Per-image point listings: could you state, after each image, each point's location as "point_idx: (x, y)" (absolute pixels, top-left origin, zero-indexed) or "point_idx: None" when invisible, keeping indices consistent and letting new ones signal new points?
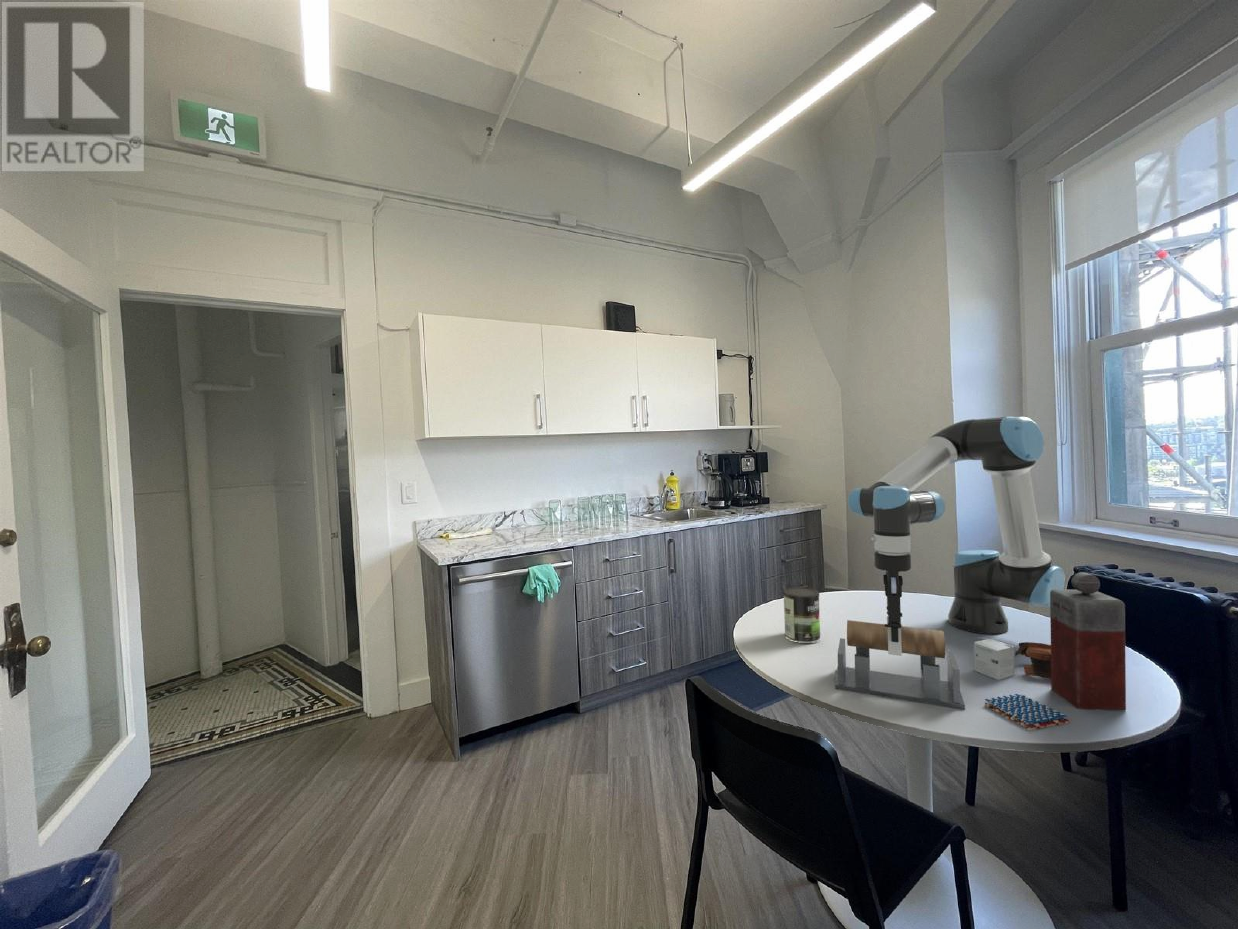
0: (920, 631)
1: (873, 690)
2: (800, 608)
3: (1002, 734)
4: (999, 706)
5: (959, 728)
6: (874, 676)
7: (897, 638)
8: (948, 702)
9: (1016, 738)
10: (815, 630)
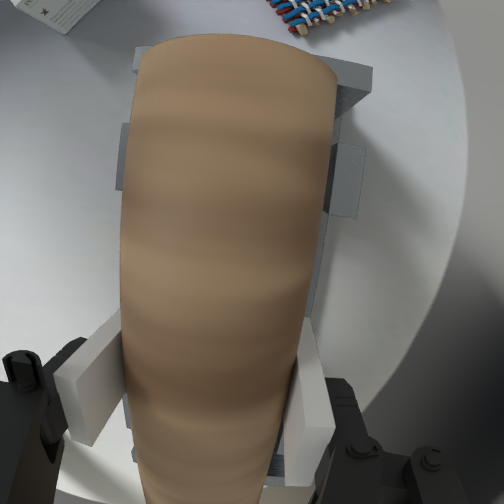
0: (250, 240)
1: None
2: None
3: (442, 62)
4: (333, 8)
5: (445, 150)
6: None
7: (354, 400)
8: (338, 134)
9: (447, 43)
10: None
